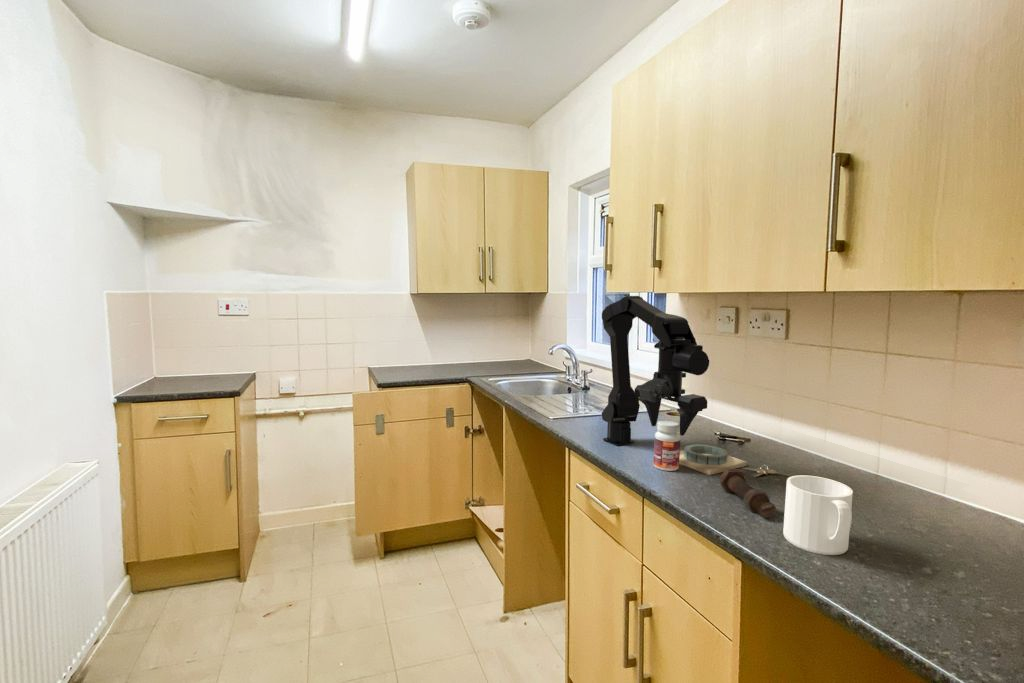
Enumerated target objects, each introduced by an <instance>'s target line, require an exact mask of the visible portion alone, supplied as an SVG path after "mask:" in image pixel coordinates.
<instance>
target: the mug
mask: <svg viewBox="0 0 1024 683" xmlns="http://www.w3.org/2000/svg"><path fill="white" fill-rule="evenodd" d="M785 486H786V487H785V501H784V516H783V530H782V534H783V537H784V538H785V539H786V541H787V542H788V543H790V544H791V545H793V546H795V547H797V548H799V549H801V550H803V551H805V552H806V551H807V552H810V553H813V554H817V555H823V556H838V555H843V554H844V553H846V552H847V551H848V550H849V544H850V543H849V542H850V531H851V526H852V519H853V518H852V517H853V513H852V506H853V505H852V504H853V495H854V494H853V493H854V490H853V489H852V488H851V487H849V485H846V484H844V483H843V482H839V481H837V480H835V479H834V480H833V479H830V478H826V477H823V476H822V477H821V476H815V475H808V474H807V475H802V474H801V475H792V476H789V477H787V478H786V484H785Z"/></svg>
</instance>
